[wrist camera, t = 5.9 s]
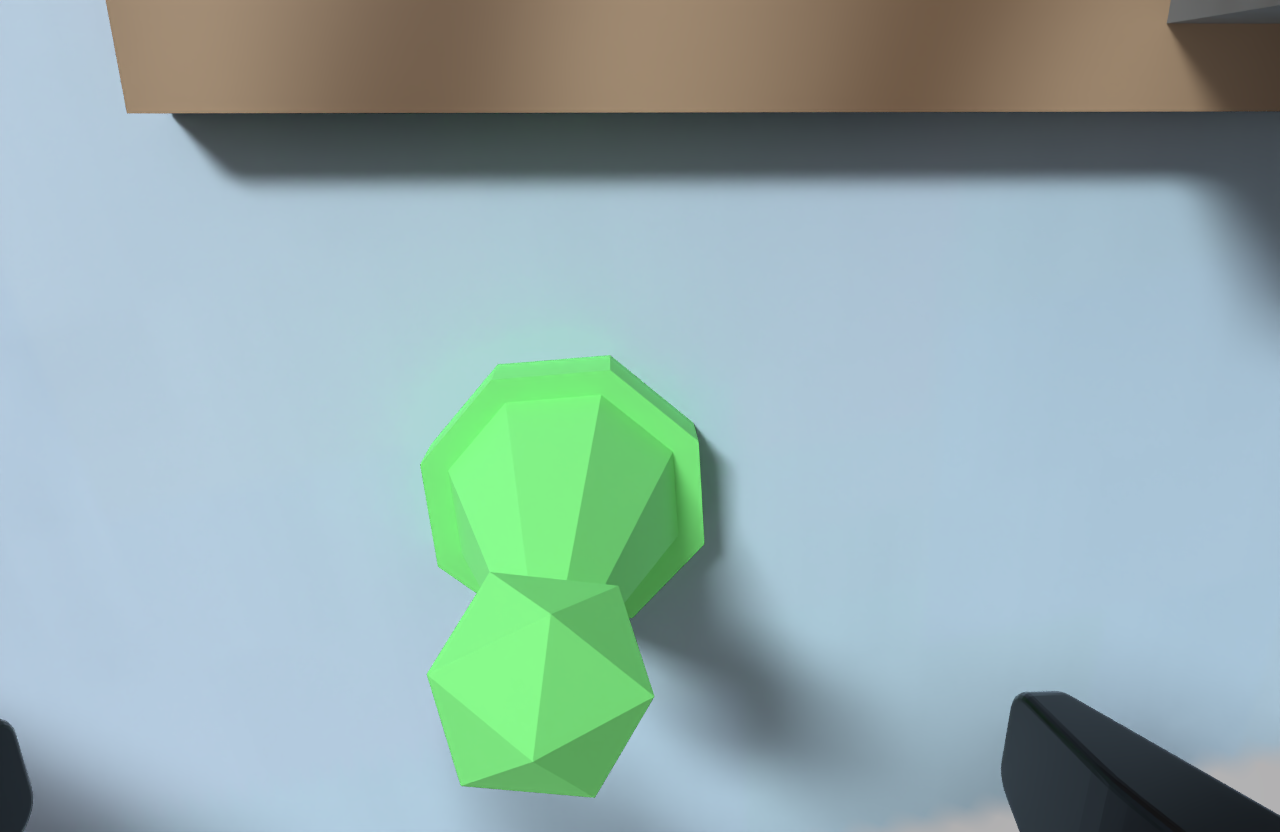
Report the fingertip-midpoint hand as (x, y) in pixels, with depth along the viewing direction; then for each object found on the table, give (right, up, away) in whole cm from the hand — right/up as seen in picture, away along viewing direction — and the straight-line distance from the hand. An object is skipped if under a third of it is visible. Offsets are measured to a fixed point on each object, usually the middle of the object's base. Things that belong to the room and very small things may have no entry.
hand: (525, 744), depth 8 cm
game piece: (0, +2, +6) cm, 6 cm away
